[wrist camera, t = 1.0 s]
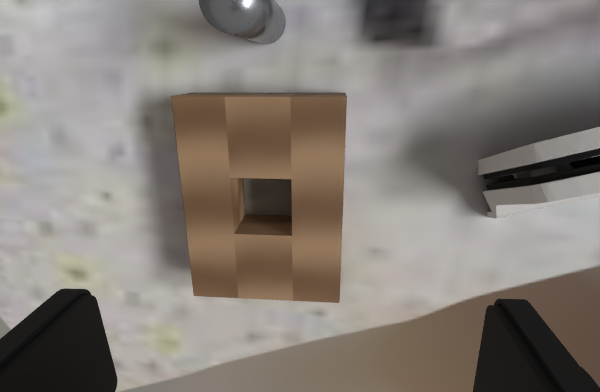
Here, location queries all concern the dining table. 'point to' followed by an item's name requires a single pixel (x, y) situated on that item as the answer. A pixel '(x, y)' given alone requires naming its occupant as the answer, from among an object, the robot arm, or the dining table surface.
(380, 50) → the dining table surface
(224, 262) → the block with square hole
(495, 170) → the grey half-round piece
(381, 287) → the dining table surface
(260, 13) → the pin
